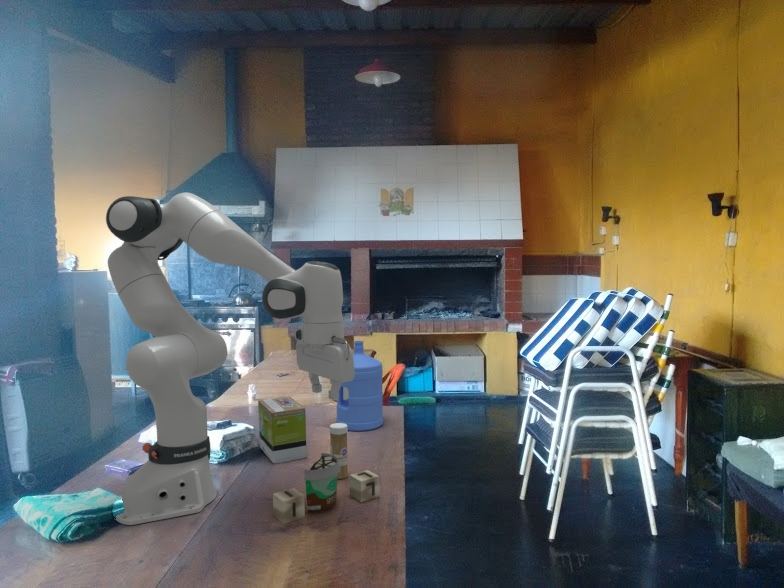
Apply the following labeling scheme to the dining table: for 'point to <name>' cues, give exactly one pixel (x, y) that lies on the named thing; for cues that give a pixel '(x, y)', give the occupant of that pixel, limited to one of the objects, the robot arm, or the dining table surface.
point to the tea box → (282, 429)
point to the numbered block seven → (364, 485)
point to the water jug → (362, 394)
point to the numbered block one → (288, 505)
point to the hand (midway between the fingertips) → (325, 395)
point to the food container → (322, 484)
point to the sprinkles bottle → (339, 446)
